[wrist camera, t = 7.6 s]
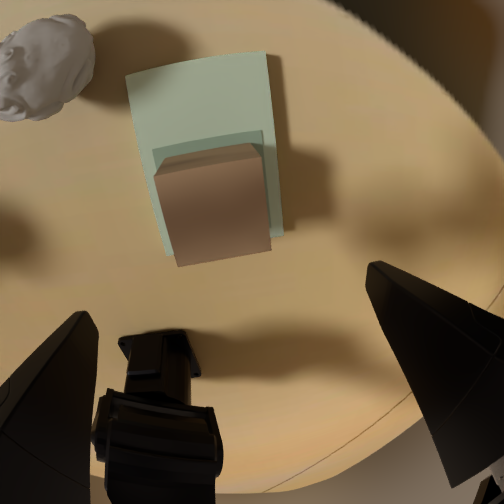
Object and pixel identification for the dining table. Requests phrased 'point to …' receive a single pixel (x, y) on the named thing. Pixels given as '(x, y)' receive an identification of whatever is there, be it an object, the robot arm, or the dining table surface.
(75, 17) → the grey lumpy rounded piece
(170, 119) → the base board
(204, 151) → the walnut block
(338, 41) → the dining table surface
